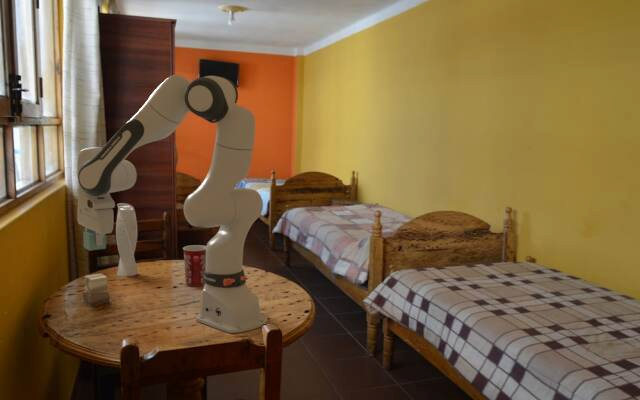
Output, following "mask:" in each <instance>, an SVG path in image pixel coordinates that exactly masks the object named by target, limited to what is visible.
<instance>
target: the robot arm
mask: <svg viewBox="0 0 640 400" xmlns="http://www.w3.org/2000/svg"><path fill="white" fill-rule="evenodd" d="M238 98H239V92H238V88H237V86H236V85H235V83H234V82H233V81H232V80H231V79H229V78H228V77H225V76H219V75H218V76H217V75H207V76H201V77H197V78H195V79H193V80H192V81H191V80H189V79H188V78H187V77H185V76H182V75H179V74H174V75H170V76H168V77H167V78H166V79H165V80H163V82H161V83H160V84H159V85H158V86H157V87H156V88H155V89H154V91H153V92H152V93H151V94H150V95H149V97H148V98H147V100H146V101H145V103H143V105H142V107H141V108H139V110H138V111H137V112H136V113H135V114H134V115H133V116H132V117H131V118H130V119H129V120H128V121H127V122H126V123H125V124H123V126H121V127H120V129H118V130H117V131H116V132H115V134H114V135H113V136H112V137H111V138H110V139H109V141H107V143H106V144H105V145H104V146H93V147H86V148H83V149H81V150H80V151H79V152H78V154H77V155H78V156H77V162H76V164H77V165H76V174H77V175H76V176H77V180H78V181H77V182H78V187H77V212H76V213H77V214H76V218H77V219H76V220H77V224H79V225H80V226H83V227H84V230H85V231H84V232H86V231H95V232H96V239H95V244H96V245H102V244H103V243H102V239H103V237H104V234H106V235H107V234H112V232H113V230H114V219H115V218H114V217H115V216H114V210H113V209H114V208H115V207H116V204H115V203H116V202H115V201H114V199H113V197H112V196H111V195H110V194H111V193H116V192H120V191H121V192H122V191H126V190H129V189H132V188H133V187H134V186H135V184H136V183H137V180H138V172H137V167H135V165H134V163H133V162H131V161H129V160H127V159H126V158H127V157H128V156H129V155H130V154H131V153H132V152H133V151H134V150H136V149H137V148H139V147H142V146H144V145H147V144H149V143H153V142H157V141H162V140H164V139H167V138H168V137H169V136H170V135H171V134H173V133H175V131H176V130H177V129H178V128H179V126H180V125H181V124H182V123H183V122H184V119H185V118H186V117H187V115H189V113H190V112H191V113H192V114H193V115H195V116H198V117H199V118H202V119H203V120H206V121H207V122H209V123H210V124H215V125H216V135H215V140H214V148H213V154H212V159H211V163H210V167H209V170H208V172H207V173H206V176H205V178H203V179H204V180H203V181H202V182H201V184H200V185H199V186H198V187H197V188H196V189H195V190H194V191H192V192H191V193H190V194H188V196H187V197H186V199H185V200H184V202H183V214H184V218H185V220H186V221H187V223H188V224H189V225H191V226H192V227H198V228H205V229H206V228H215V227H216V228H217V227H219V228H218V231H217V233H216V234H214V236H213V237H212V238H211V239H209V241H207V243H206V245H205V246H206V269H205V270H204V282H205V285H203V288H202V290H201V292H200V299H199V300H200V301H199V310H198V314H197V315H196V316H195V321H196V322H199V323H202V324H204V325H207V326H209V327H212V328H214V329H217V330H221V331H223V332H226V333H229V334H231V333H232V334H233V333H234V334H236V333H243V332H247V331H248V332H249V331H251V330H255V329H257V328H260V327H263V326H264V325H263V324H265V325H266V324H267V323H268V322H269V320H268V317H267V316H265V315H263V314H262V313H261V308H260V302H259V298H258V295H254V293H253V292H252V291H251V289H250V287H249V286H248V285H247V280H248V278H247V277H248V275H246V273H245V270H244V269H243V262H244V261H243V257H244V246H245V242H246V238H247V235H248V233H249V231H250V229H251V227H252V225H253V224H254V223H255V222H256V220H258V218H260V216H261V215H262V212H263V209H264V201H263V198H262V196H261V194H260V193H259V192H258V191H257V190H255V189H252V188H245V187H236V186H237V185H238V184H239V183H240V182H241V181H242V180H244V179H245V178H246V177H247V176H249V175H248V174H250V171H251V164H252V159H253V152H254V147H255V141H256V140H255V139H256V138H255V137H256V119H255V117H256V116H255V115H254V113H253V111H251V110H250V109H248V108H247V107H244V106H242V105H238V104H237V102H238ZM262 325H263V326H262Z"/></svg>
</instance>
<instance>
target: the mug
mask: <svg viewBox="0 0 640 400" xmlns="http://www.w3.org/2000/svg"><path fill="white" fill-rule="evenodd" d="M206 246H207V245H200V244H197V245H196V244H194V245H193V244H192V245H186V246H184V247H182V251H183V261H184V262H183V263H184V278H185V285H186V286H188V287H201V286H204V285H205V282H204V270H205V269H206Z"/></svg>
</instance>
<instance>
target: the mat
mask: <svg viewBox="0 0 640 400" xmlns="http://www.w3.org/2000/svg"><path fill="white" fill-rule="evenodd" d="M80 301H81V302H82V303H84V304H85V305H86V306H88V307H92V306H98V305H103V304H107V303H111V302H112V300H110V301H109V302H104V303H100V304H95V305H89V304H87V303H86V302H85V301H83V299H80Z"/></svg>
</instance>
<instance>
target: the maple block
mask: <svg viewBox="0 0 640 400" xmlns="http://www.w3.org/2000/svg"><path fill="white" fill-rule="evenodd" d="M84 291H86V292H87V293H88V294H90V295H96V294H101V293H106V292H107V291H108V277H107V276H106V275H104V274H103V273H102V272H101V273H95V274H90V275H85V276H84Z"/></svg>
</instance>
